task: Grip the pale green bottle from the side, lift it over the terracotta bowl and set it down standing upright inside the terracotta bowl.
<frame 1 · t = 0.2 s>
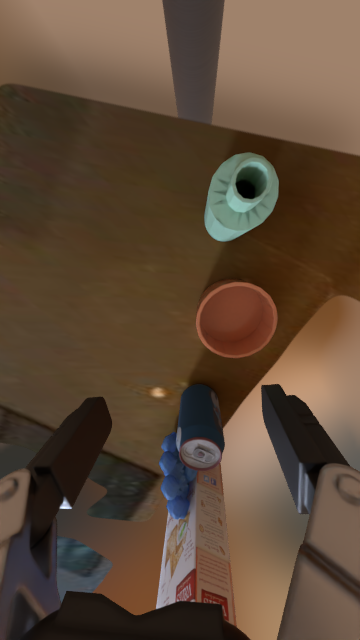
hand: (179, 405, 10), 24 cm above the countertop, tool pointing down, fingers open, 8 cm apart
terracotta bowl: (229, 312, 32), on the countertop
grapes: (183, 441, 41), on the countertop, touching cracker box
cracker box: (193, 470, 44), on the countertop, touching grapes
soda can: (199, 395, 38), on the countertop
bottle: (226, 218, 28), on the countertop
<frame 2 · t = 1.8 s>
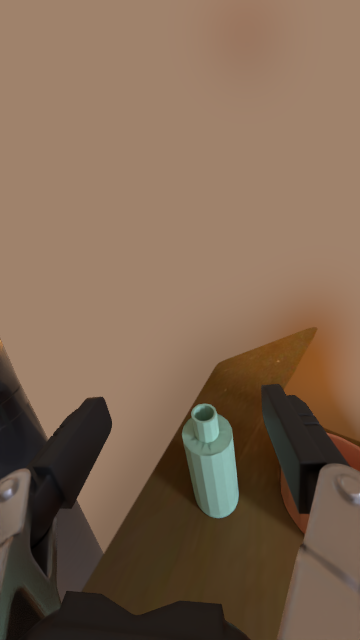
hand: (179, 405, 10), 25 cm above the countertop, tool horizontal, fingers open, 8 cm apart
terracotta bowl: (328, 500, 25), on the countertop
bottle: (216, 490, 28), on the countertop
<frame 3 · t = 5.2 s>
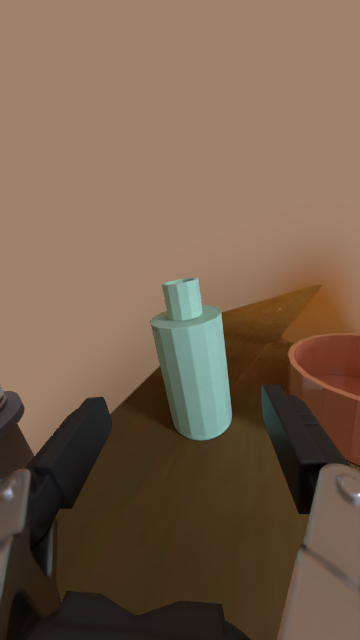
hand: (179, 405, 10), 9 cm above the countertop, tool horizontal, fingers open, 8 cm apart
terracotta bowl: (357, 413, 18), on the countertop
bottle: (201, 413, 20), on the countertop
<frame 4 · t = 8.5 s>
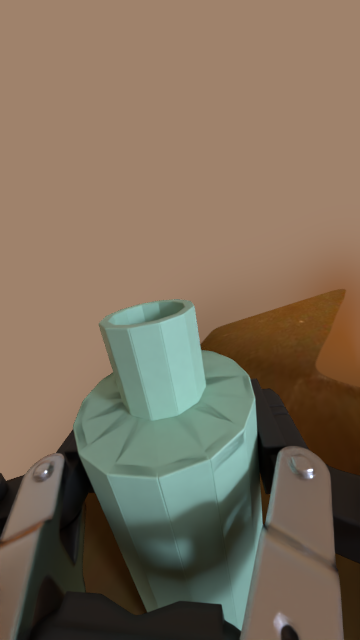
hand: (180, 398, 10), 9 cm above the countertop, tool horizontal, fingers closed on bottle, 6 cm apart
bottle: (202, 557, 11), on the countertop, touching gripper
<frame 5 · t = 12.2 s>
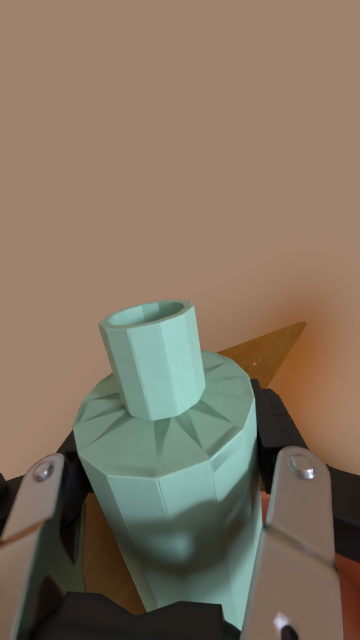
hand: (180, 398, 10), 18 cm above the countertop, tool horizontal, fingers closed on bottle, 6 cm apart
bottle: (202, 557, 11), point 9 cm above the countertop, touching gripper
when the fingers open (9 cm above the countertop, at t = 16.0 s): bottle stays where it is, resting on terracotta bowl.
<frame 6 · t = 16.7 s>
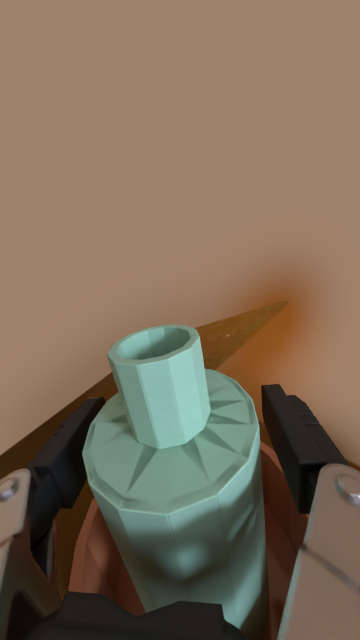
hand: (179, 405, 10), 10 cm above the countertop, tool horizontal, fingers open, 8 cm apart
terracotta bowl: (206, 573, 11), on the countertop
bottle: (206, 570, 11), point 1 cm above the countertop, touching terracotta bowl
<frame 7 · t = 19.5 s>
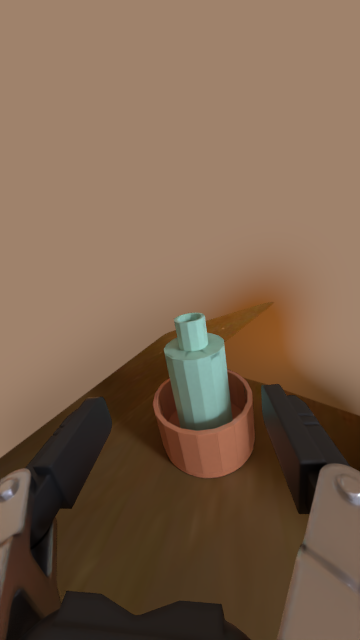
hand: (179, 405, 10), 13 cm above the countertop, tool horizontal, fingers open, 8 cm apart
terracotta bowl: (207, 429, 24), on the countertop
bottle: (206, 426, 23), point 1 cm above the countertop, touching terracotta bowl
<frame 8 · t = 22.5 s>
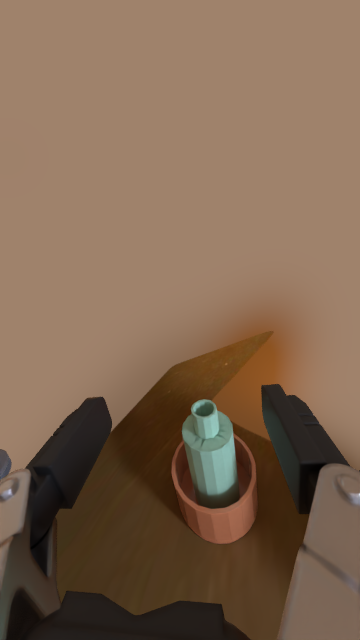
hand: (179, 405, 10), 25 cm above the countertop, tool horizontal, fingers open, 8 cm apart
terracotta bowl: (216, 490, 28), on the countertop
bottle: (216, 488, 27), point 1 cm above the countertop, touching terracotta bowl
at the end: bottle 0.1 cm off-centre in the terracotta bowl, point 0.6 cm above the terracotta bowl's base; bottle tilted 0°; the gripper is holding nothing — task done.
